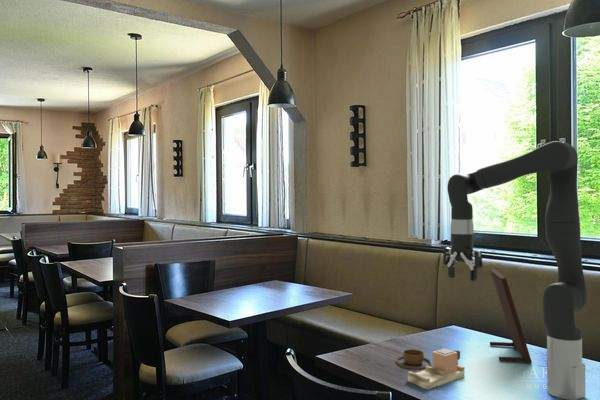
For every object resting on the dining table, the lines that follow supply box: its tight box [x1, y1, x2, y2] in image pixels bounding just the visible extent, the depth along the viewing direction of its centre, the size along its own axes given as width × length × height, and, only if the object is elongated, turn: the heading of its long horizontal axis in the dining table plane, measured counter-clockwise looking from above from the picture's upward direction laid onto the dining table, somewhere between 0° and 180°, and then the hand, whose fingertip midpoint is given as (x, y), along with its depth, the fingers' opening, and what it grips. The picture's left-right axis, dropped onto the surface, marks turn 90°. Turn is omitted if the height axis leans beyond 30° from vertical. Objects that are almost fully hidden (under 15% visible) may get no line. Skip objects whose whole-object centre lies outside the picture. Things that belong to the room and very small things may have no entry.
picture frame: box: [489, 268, 533, 365], centre depth 182 cm, size 21×11×30 cm, turn 168°
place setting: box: [396, 348, 461, 373], centre depth 169 cm, size 18×20×6 cm
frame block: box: [432, 347, 457, 374], centre depth 160 cm, size 5×6×6 cm
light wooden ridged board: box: [407, 364, 465, 391], centre depth 157 cm, size 8×18×3 cm, turn 125°
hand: (462, 279), depth 169 cm, fingers open, 8 cm apart
